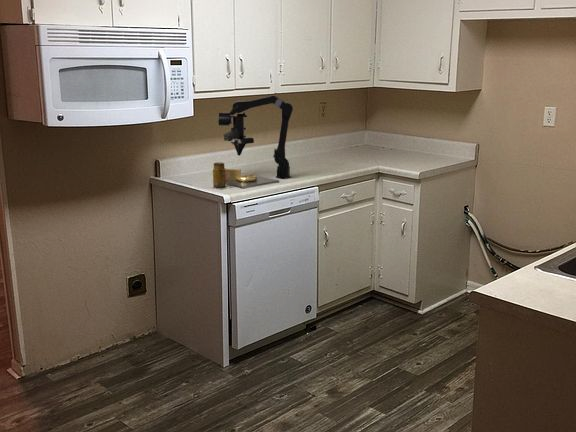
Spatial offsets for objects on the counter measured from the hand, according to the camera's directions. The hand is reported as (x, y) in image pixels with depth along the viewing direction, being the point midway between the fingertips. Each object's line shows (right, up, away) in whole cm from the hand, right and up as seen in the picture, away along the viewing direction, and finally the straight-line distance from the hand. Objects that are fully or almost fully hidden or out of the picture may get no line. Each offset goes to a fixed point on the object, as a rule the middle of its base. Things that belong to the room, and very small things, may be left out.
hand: (239, 155), depth 335 cm
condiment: (-8, -18, -21) cm, 28 cm away
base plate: (+4, -14, -7) cm, 17 cm away
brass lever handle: (+2, -13, -8) cm, 16 cm away
